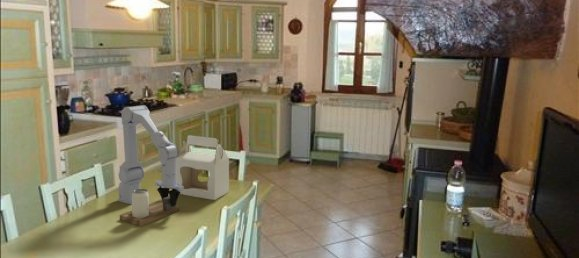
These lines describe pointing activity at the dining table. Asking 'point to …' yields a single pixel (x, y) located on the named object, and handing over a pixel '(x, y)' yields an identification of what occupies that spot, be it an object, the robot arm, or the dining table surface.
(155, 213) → the tan channel tray
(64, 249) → the dining table surface
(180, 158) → the gable box
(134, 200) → the can
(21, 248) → the dining table surface
